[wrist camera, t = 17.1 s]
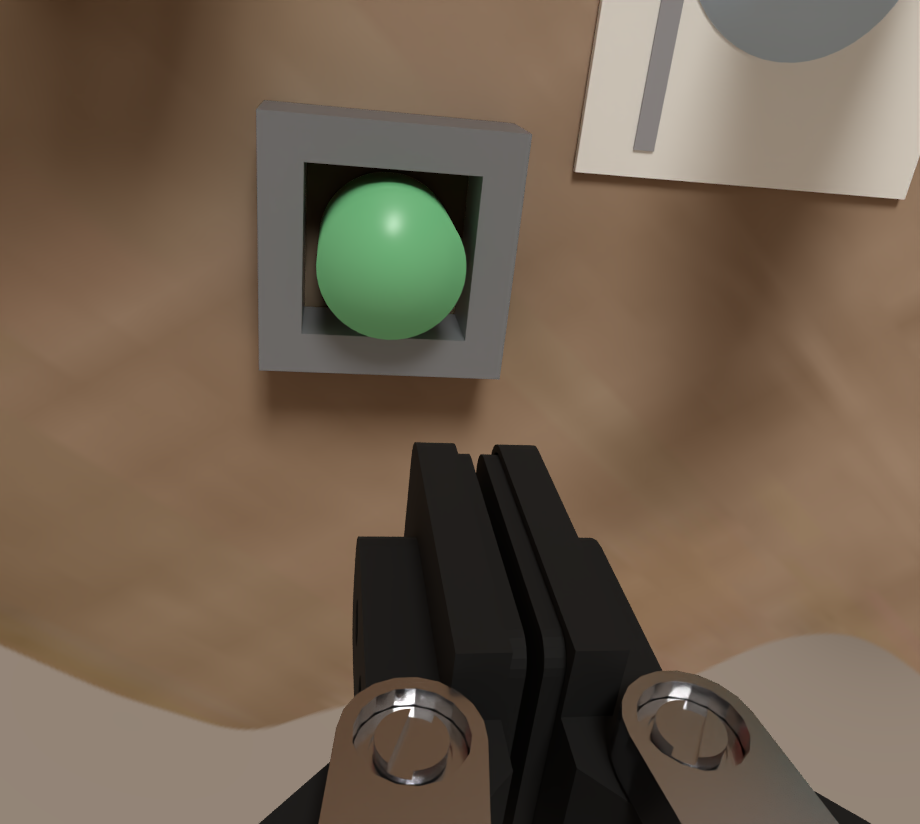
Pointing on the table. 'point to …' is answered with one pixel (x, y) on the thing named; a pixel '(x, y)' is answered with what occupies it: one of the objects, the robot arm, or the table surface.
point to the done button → (389, 257)
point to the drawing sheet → (756, 94)
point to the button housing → (402, 148)
